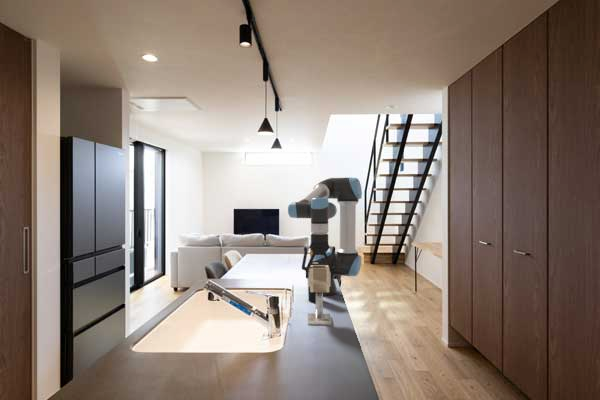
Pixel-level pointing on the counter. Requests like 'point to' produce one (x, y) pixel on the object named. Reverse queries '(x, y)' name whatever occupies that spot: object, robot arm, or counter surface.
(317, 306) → the post stand
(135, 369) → the counter surface
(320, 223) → the robot arm
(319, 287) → the birch sleeve
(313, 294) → the travel mug
